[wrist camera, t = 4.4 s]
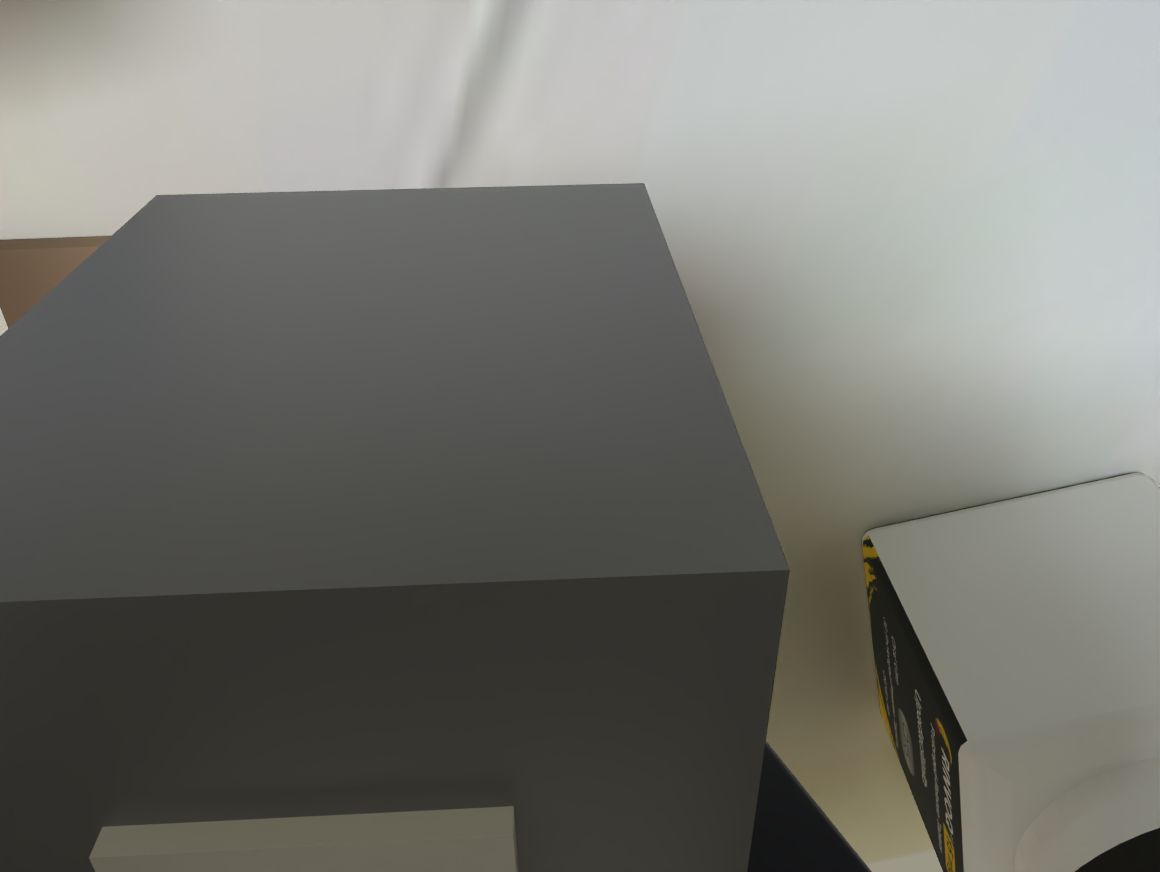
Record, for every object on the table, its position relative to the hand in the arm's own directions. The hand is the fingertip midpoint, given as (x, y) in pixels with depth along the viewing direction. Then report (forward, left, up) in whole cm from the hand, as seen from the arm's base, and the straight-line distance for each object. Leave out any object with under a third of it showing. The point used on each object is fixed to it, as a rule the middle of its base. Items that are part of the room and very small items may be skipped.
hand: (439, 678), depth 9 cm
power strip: (0, 0, -1) cm, 1 cm away
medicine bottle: (-13, +10, -12) cm, 21 cm away
